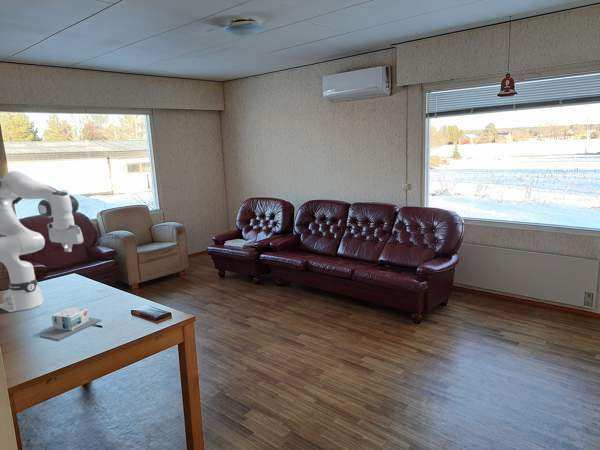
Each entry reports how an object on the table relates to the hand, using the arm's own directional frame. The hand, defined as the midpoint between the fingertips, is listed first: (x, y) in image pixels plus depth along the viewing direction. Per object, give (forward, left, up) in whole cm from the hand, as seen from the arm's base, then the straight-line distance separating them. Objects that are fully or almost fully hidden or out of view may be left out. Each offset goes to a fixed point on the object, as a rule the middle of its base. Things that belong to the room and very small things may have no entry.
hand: (68, 251), depth 211 cm
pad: (+18, -17, -31) cm, 40 cm away
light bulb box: (+11, -16, -27) cm, 33 cm away
